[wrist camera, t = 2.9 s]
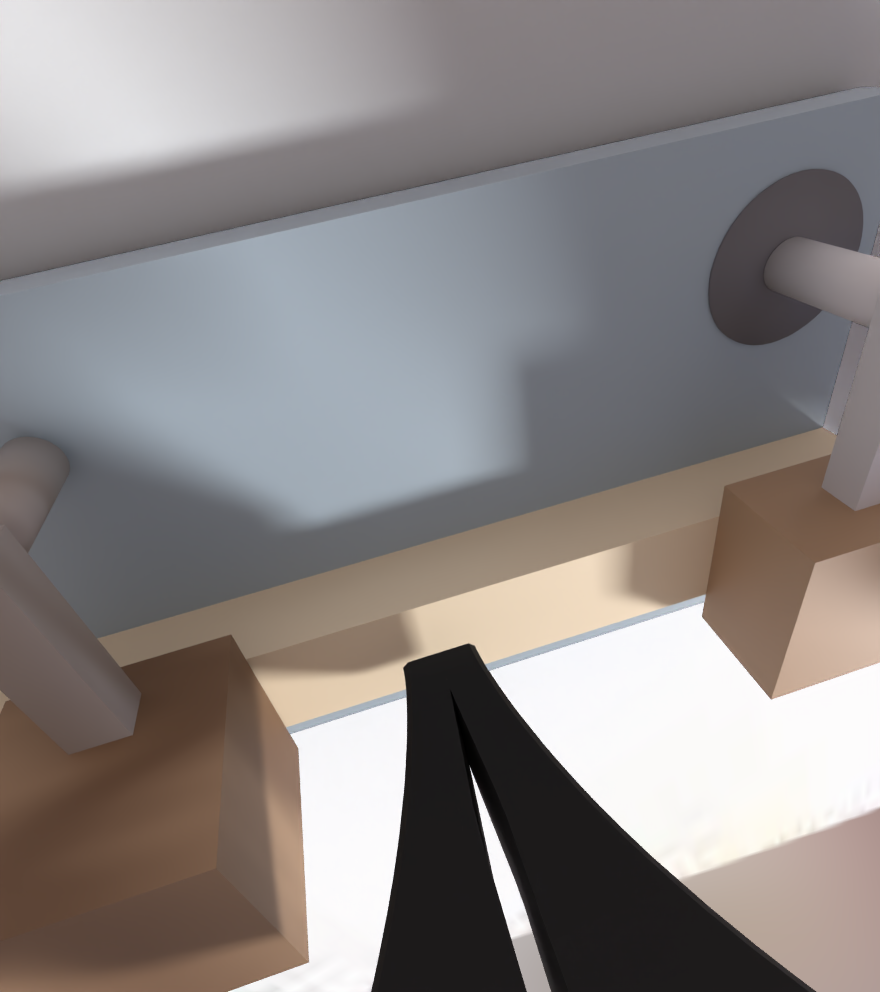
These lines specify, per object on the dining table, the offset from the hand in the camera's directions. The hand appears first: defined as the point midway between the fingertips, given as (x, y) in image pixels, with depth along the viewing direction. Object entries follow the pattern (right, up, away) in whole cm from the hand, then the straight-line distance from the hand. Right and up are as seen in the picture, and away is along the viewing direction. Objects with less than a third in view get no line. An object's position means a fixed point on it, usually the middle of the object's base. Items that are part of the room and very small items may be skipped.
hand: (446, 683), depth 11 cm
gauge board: (-3, +3, +2) cm, 5 cm away
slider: (-6, +1, 0) cm, 6 cm away
